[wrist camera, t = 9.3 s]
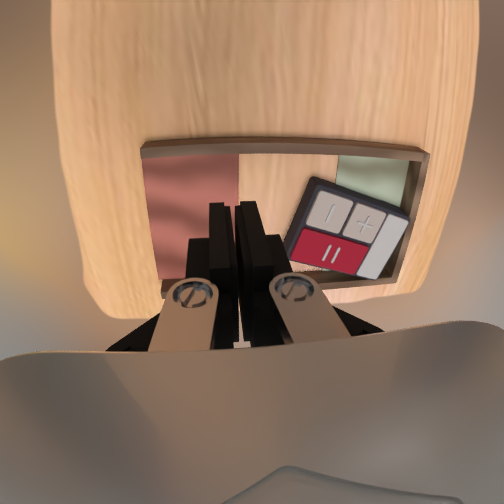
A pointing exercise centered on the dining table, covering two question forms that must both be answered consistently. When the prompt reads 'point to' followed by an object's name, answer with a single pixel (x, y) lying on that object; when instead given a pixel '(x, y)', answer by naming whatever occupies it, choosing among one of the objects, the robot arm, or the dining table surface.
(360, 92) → the dining table surface
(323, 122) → the dining table surface
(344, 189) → the calculator
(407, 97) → the dining table surface
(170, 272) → the brown wooden tray
